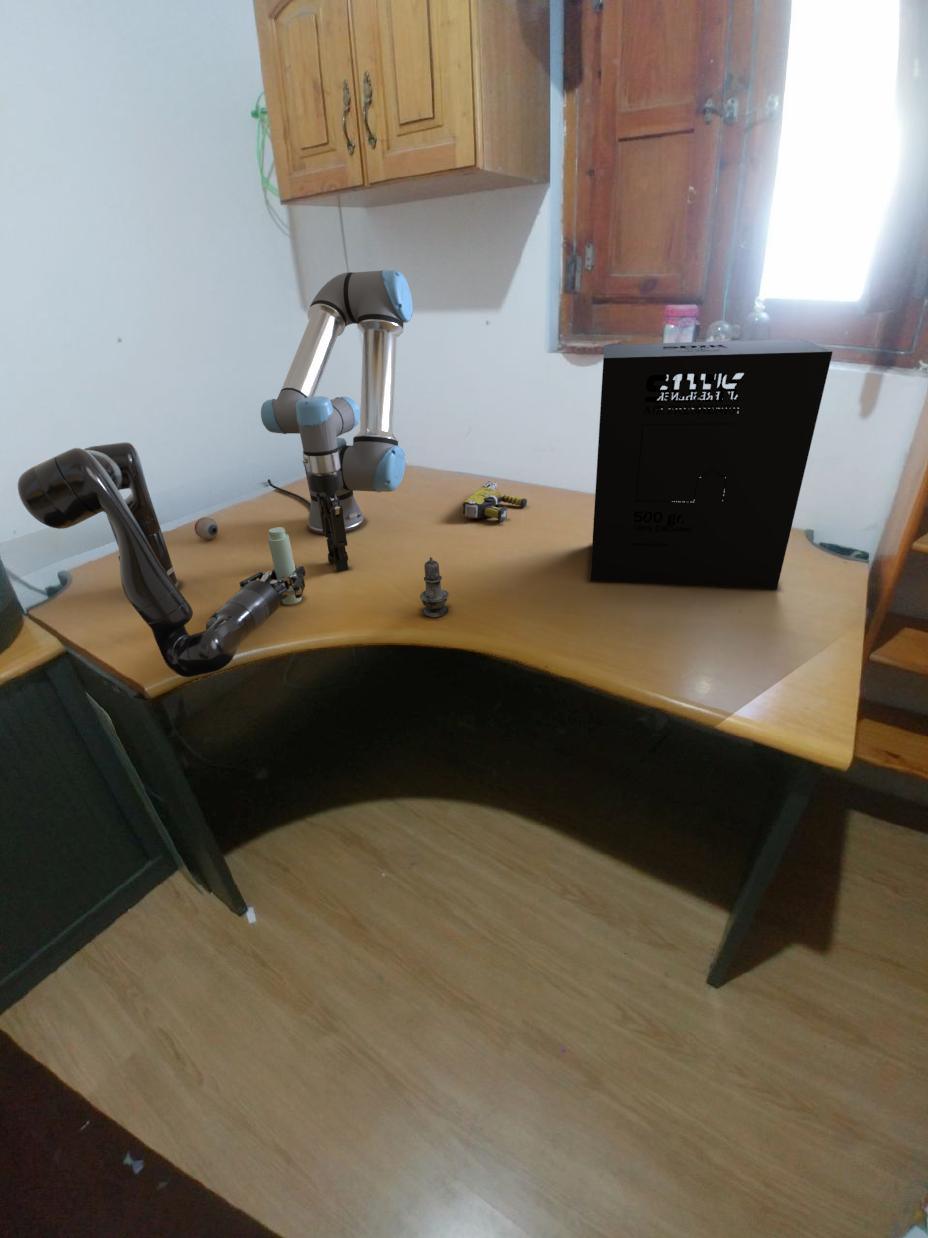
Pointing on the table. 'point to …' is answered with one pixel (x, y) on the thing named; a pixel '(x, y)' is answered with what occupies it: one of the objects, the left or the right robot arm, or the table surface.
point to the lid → (331, 557)
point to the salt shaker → (433, 591)
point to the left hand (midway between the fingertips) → (292, 569)
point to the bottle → (282, 558)
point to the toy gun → (489, 503)
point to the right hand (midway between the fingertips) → (339, 566)
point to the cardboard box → (703, 460)
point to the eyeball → (206, 528)
